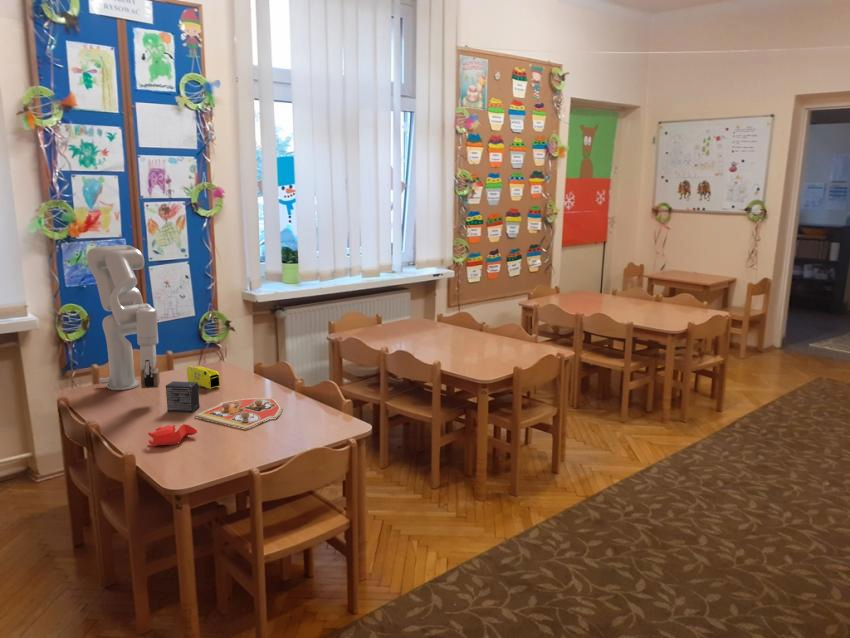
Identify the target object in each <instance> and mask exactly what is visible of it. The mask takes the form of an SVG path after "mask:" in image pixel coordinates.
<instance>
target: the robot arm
mask: <svg viewBox="0 0 850 638" xmlns="http://www.w3.org/2000/svg"><path fill="white" fill-rule="evenodd" d="M86 263H87V267H88V268H89V271H90V272H91V274H92V275H93V277H94V280H95V282H96V287H97V290H98V295H99V299H100V303H101V306H102V309H103V310H104V311H106V312H112V314H108V315H107V316H105V317H104V318H103V320H102V323H101V325H102V330H103V332H104V336H105V340H106V346H107V349H106V350H107V356H108V357H107V358H108V366H109V367H108V368H109V376H107V377H99V378H98V379H99V380H98V381H99V383H100V384H106V388H107V389H108V390H110V389H111V391H125V390H132V389H134V388H137V387H138V386H139V385H140V381H139V380H137V379H136V376H135V375H136V374H135V365H134V364H135V363H134V354H133V353H134V352H133V346H132V343H131V342H130V340H128V339H127V338H126V336H130V335H136V339H137V341H136V342H137V345H138V346H140V347H139V360H140V361H139V362H140V365H139V366H140V367H139V368H140V370H141V371H142V370H144V369H145V377H144V379H145V387H153V386H154V378H153V369H154V368H156V364H157V349H156V348H157V347H156V345H158V344H159V329H158V328H159V327H158V314H157V313H158V312H157V310H156V309H155V308H154V307H152V306H151V304H149V303H144V300H143V299H144V298H143V296H142V294H141V291H140V289H138V288H137V285H138V279H137V276H136V274H135V272H134V271H136V270H138V271H139V270H142V269H143V268H144V266H145V258H144V254H143V253H142V252H141V251H140V250H139V249H137V248H136V247H134V246H132V245H129V244H128V245H127V244H120V245H119V244H118V245H117V244H116V245H104V246H95V247H92V248H90V249H89V250H88V251H87V252H86ZM149 368H151V369H149ZM149 371H151V373H150V372H149Z"/></svg>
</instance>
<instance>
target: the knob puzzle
mask: <svg viewBox="0 0 850 638" xmlns="http://www.w3.org/2000/svg"><path fill="white" fill-rule="evenodd" d="M282 408H283V405H282V404H281V403H280V402H279V400H277V398H276V397H251V398H250V397H245V398H239V399H233V400H226V401H225V400H224V401H221V402H219V403H218V404H217V405H213V406H212V407H209V408H207V409H205V410H203V411H200V412H198V413H195V414H194V418H195V417H198V418H201V419H205V420H209V421H213V422H217V423H221V424H220V425H222V424H226V425H230V426H236V427H240V428H245V429H247V428H249V427H252V426H254V425H256V424H259V423H261V422H263V421H265V420H267V419H269V418H276V417H278V416H279V414H280V413H281V411H282V412H283V410H282ZM283 409H284V408H283ZM281 414H282V413H281ZM279 417H280V416H279ZM201 419H200V420H201ZM205 420H204V421H205ZM209 421H208V422H209ZM213 422H212V423H213ZM217 423H216V424H217ZM226 425H225V426H226ZM230 426H229V427H230Z"/></svg>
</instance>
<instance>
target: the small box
mask: <svg viewBox="0 0 850 638" xmlns="http://www.w3.org/2000/svg"><path fill="white" fill-rule="evenodd" d="M165 393H166V396H165V397H166V407H167V411H166V412H171V411H172V412H171V413H174V412H177V413H195V411H197V410H198V409H199V408H200V396H199V393H200V392H199V385H198V382H188V381H171V382H169V383H168V384H166V385H165Z"/></svg>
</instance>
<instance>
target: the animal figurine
mask: <svg viewBox="0 0 850 638" xmlns="http://www.w3.org/2000/svg"><path fill="white" fill-rule="evenodd" d="M176 427H177V425H176V424H172V425H165V426H160V427H158V428H156V429H155V431H153V432H150V431H149V432H148V433H147V435H148V436H149V437H150V438H152V440H151V439H148V443H149V445H151V446H152V448H154V446H155V447H158V446H170V445H171V446H172V445H173V446H174V445H178V444H179V443H178V442H180V443H181V441H182V440H183V439H184V438H186V437H185V436H187V437H189V436H188V435H190V436H192V435H195V434H197V433H198V429H196V428H194V427H193V426H191V425H189V424H182V425H180V426H179V428H178V429H177V430H176ZM183 437H184V438H183ZM177 443H178V444H177Z"/></svg>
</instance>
